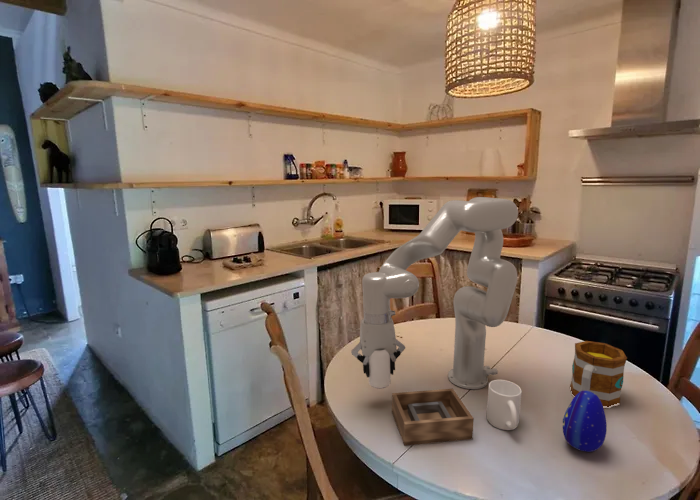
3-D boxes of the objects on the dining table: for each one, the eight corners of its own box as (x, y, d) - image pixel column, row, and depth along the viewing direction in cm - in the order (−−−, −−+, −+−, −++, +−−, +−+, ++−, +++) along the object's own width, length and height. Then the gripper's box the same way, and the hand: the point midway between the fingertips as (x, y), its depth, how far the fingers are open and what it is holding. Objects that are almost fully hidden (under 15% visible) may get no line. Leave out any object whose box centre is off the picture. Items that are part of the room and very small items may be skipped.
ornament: (565, 427, 104) (571, 376, 101) (606, 442, 98) (613, 388, 95) (556, 450, 95) (562, 395, 92) (599, 467, 90) (607, 409, 87)
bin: (451, 407, 113) (452, 388, 112) (472, 439, 99) (473, 418, 98) (391, 412, 111) (392, 393, 110) (404, 445, 97) (404, 424, 96)
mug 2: (576, 379, 128) (581, 337, 125) (625, 395, 118) (631, 350, 115) (555, 404, 114) (560, 357, 111) (609, 424, 105) (616, 374, 102)
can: (389, 390, 110) (388, 351, 107) (367, 388, 111) (365, 350, 108) (391, 377, 116) (390, 341, 113) (370, 376, 117) (368, 340, 115)
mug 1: (529, 441, 99) (533, 404, 97) (496, 440, 99) (499, 404, 97) (511, 412, 110) (514, 379, 108) (482, 412, 111) (484, 379, 109)
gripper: (403, 308, 114) (404, 364, 117) (345, 314, 112) (348, 370, 116) (410, 318, 106) (411, 377, 110) (348, 324, 104) (351, 384, 108)
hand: (379, 373), depth 113 cm, fingers closed on can, 6 cm apart
